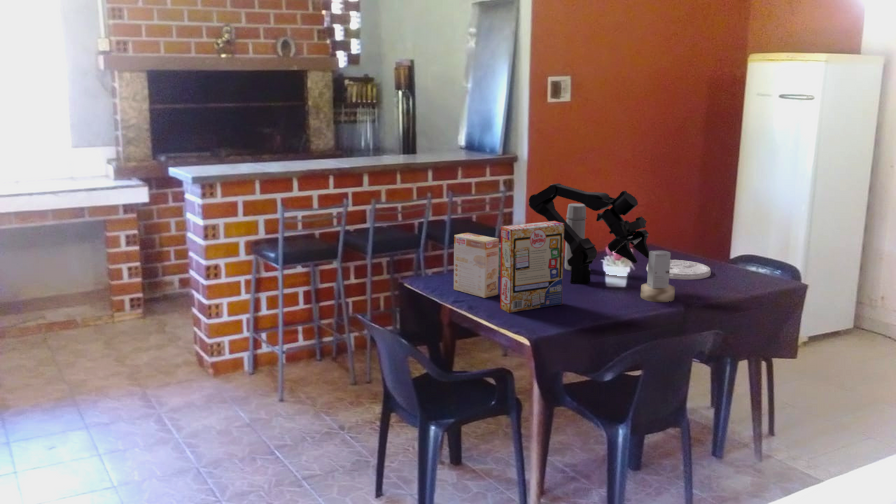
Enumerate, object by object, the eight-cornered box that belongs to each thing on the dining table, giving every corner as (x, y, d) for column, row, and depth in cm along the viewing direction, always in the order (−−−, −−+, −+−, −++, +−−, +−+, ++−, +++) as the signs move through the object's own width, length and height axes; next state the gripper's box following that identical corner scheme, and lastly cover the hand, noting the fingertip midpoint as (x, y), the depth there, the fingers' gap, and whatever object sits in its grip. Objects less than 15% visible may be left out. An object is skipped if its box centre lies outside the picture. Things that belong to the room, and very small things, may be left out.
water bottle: (579, 272, 304) (582, 207, 299) (560, 269, 308) (562, 205, 303) (588, 267, 312) (591, 203, 306) (570, 265, 316) (572, 202, 310)
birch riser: (641, 302, 268) (642, 290, 267) (639, 293, 278) (640, 282, 277) (675, 303, 266) (676, 292, 265) (672, 294, 276) (673, 283, 275)
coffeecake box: (498, 294, 274) (499, 238, 270) (484, 298, 269) (485, 241, 265) (467, 286, 285) (467, 231, 280) (452, 289, 280) (453, 234, 276)
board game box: (552, 300, 268) (555, 220, 262) (563, 305, 262) (566, 223, 256) (498, 308, 259) (500, 225, 253) (509, 313, 253) (511, 228, 247)
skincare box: (652, 289, 268) (655, 253, 266) (646, 285, 273) (648, 250, 270) (669, 287, 270) (671, 252, 267) (662, 284, 274) (664, 249, 271)
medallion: (665, 282, 293) (665, 275, 293) (631, 264, 319) (632, 259, 318) (722, 278, 299) (723, 272, 298) (685, 262, 324) (685, 256, 324)
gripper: (618, 213, 266) (646, 251, 261) (645, 206, 280) (672, 242, 275) (596, 232, 273) (622, 270, 268) (623, 225, 287) (650, 260, 282)
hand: (643, 260), depth 273 cm, fingers open, 9 cm apart
